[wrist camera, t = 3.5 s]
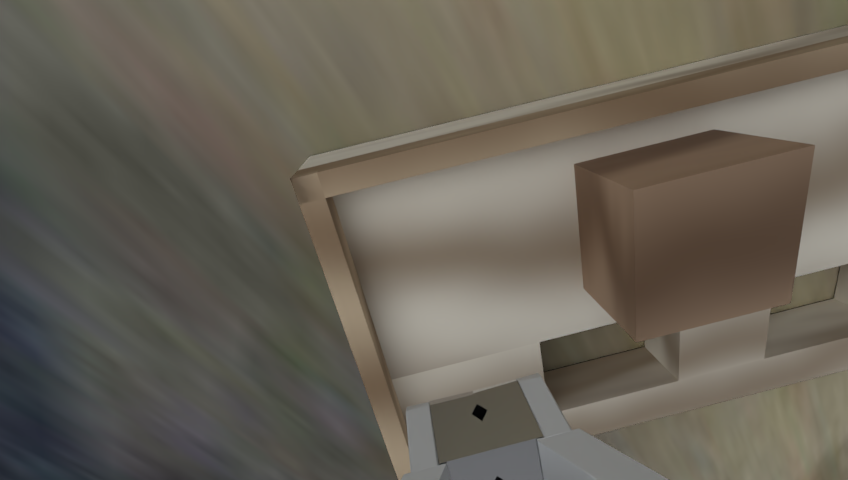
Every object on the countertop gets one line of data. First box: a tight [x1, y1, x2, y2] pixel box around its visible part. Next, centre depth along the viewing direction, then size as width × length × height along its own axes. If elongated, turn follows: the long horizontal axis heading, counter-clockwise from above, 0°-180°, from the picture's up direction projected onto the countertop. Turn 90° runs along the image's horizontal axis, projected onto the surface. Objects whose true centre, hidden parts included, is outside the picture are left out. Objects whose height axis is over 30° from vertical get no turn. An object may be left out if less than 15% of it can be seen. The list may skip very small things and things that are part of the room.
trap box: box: [290, 25, 848, 480], centre depth 16 cm, size 15×29×4 cm, turn 103°
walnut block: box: [574, 129, 815, 343], centre depth 13 cm, size 5×5×4 cm
